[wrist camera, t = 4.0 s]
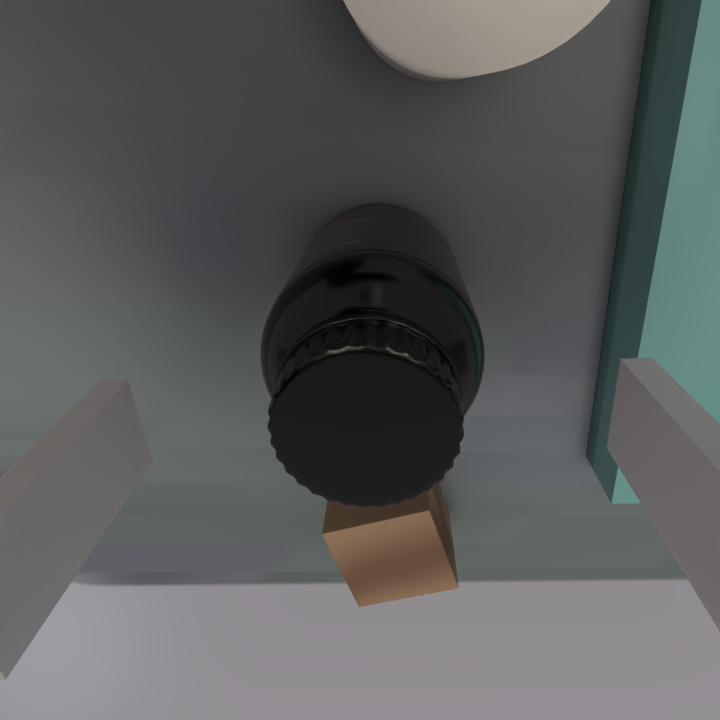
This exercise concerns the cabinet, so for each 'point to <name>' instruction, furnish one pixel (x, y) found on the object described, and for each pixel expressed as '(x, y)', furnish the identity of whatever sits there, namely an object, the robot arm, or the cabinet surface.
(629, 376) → the robot arm
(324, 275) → the supplement bottle
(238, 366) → the cabinet surface
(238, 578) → the cabinet surface
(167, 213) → the cabinet surface
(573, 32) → the cream round piece
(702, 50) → the tray
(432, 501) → the walnut block
